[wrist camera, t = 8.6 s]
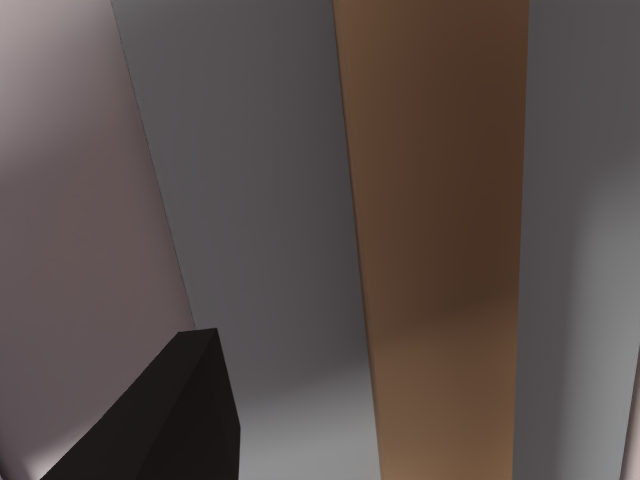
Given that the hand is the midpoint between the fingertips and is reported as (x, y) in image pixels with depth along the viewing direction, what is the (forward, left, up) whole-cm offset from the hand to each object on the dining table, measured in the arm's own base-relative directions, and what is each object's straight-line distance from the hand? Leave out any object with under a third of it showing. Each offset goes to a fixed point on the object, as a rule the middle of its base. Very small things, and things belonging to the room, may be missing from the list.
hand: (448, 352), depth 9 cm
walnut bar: (0, 0, -3) cm, 3 cm away
